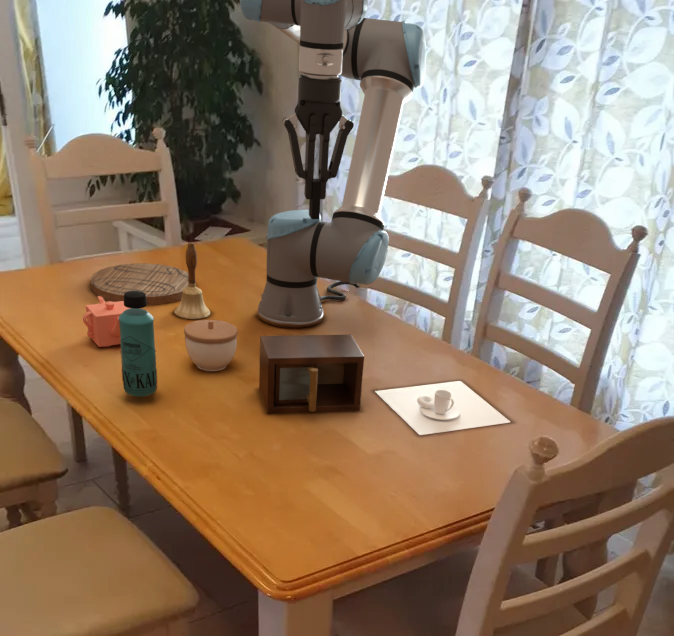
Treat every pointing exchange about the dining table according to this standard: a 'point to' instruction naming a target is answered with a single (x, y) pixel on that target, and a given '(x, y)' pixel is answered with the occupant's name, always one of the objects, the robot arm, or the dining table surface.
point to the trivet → (140, 282)
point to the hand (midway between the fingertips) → (314, 217)
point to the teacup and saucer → (441, 407)
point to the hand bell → (192, 291)
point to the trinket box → (210, 343)
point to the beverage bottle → (137, 346)
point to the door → (296, 384)
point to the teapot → (104, 322)
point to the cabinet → (332, 363)
